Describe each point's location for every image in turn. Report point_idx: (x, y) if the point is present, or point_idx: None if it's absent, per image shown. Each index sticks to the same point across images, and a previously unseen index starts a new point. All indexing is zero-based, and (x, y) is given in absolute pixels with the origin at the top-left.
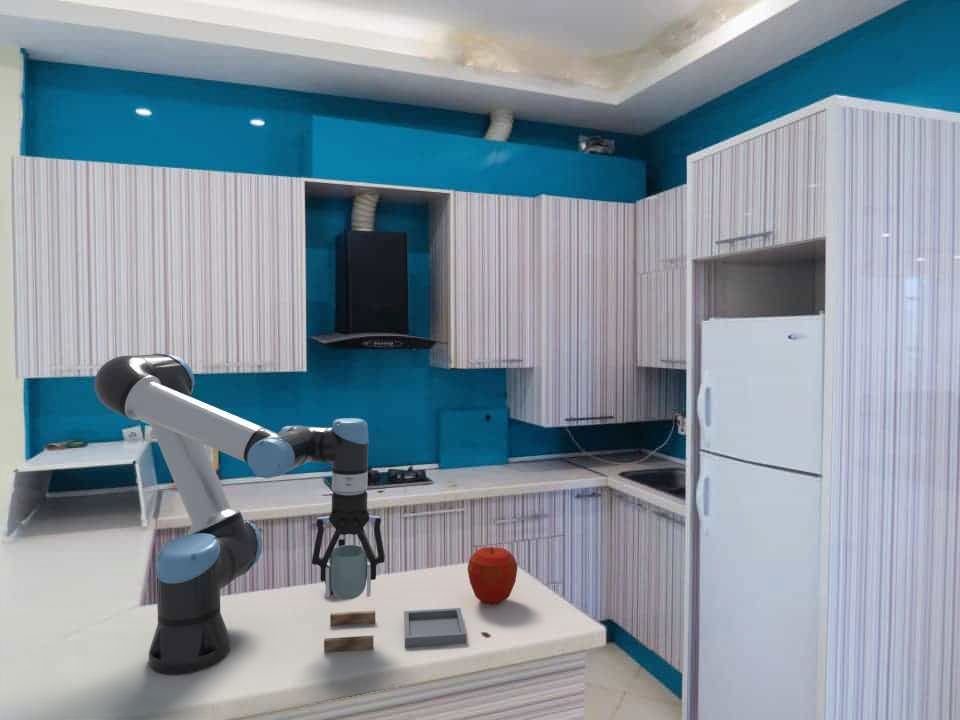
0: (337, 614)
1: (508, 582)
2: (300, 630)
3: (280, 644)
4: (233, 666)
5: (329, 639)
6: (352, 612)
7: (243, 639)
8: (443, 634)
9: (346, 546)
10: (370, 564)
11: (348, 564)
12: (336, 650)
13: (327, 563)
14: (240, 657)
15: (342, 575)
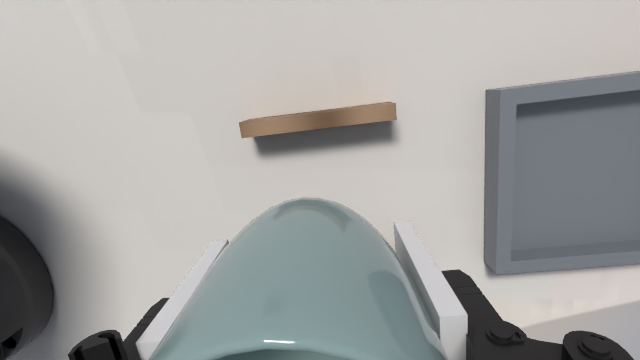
0: (265, 132)
1: None
2: (172, 158)
3: (152, 234)
4: (94, 322)
5: None
6: (314, 117)
7: (43, 206)
8: (616, 259)
9: (220, 356)
10: (464, 353)
11: None
12: None
13: (138, 345)
14: (88, 289)
15: None
